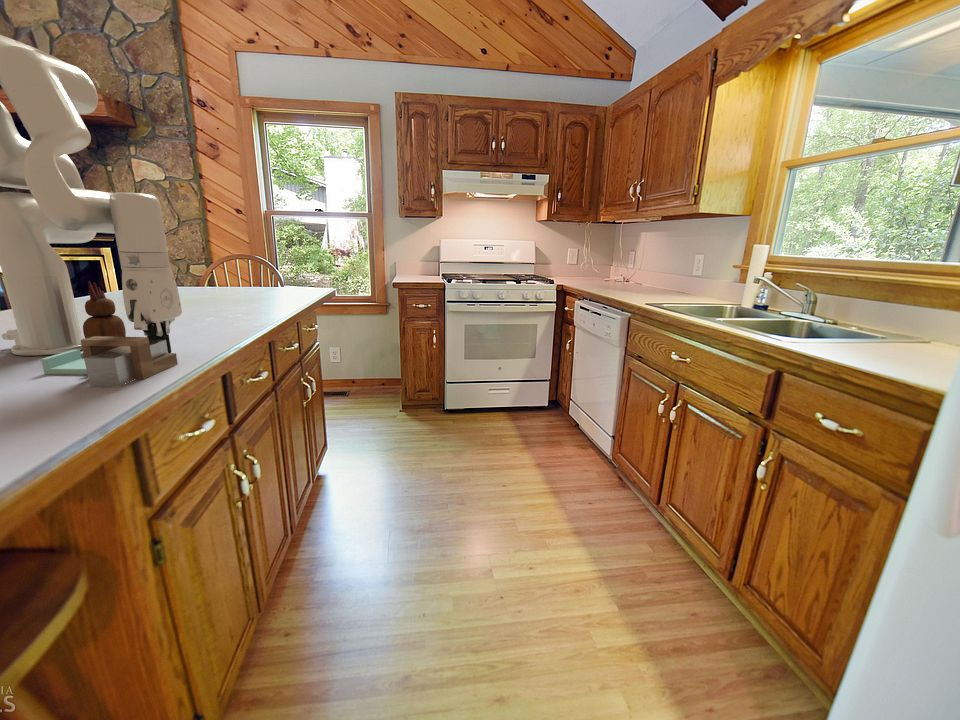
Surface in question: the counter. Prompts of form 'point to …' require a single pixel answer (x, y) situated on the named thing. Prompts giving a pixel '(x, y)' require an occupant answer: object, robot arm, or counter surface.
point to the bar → (118, 364)
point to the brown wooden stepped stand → (138, 352)
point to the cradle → (65, 363)
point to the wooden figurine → (102, 317)
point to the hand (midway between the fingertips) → (161, 353)
